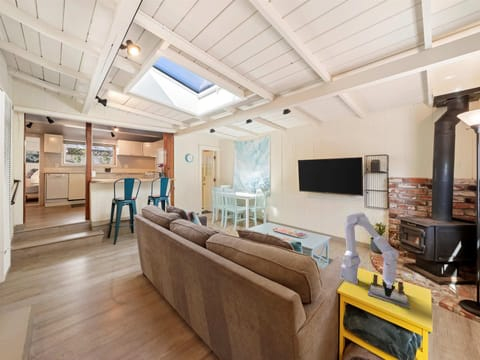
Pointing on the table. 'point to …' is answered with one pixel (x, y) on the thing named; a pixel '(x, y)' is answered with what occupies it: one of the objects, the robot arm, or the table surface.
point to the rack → (374, 283)
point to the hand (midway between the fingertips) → (387, 294)
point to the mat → (388, 299)
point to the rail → (394, 295)
